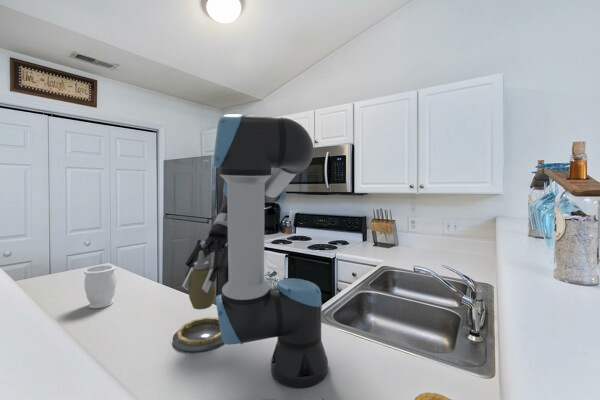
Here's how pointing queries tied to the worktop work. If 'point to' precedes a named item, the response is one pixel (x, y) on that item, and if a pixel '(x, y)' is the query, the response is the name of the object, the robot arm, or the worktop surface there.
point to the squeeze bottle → (200, 284)
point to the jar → (100, 285)
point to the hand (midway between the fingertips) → (194, 289)
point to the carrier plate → (198, 336)
